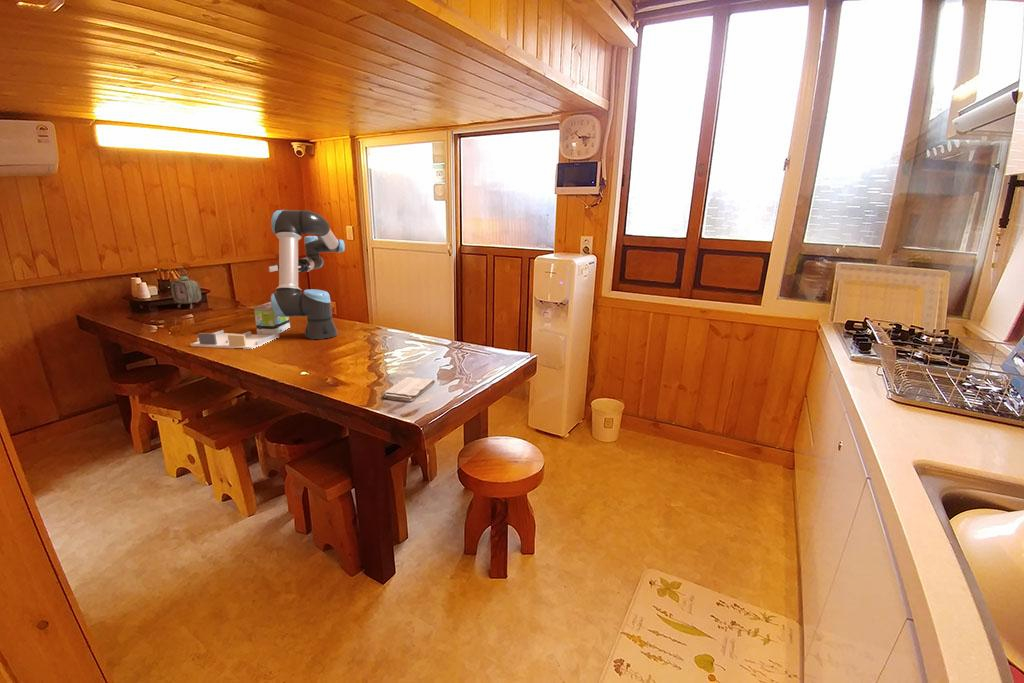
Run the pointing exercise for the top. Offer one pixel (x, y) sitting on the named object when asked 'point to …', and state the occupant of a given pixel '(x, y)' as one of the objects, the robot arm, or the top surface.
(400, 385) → the washcloth
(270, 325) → the tea box
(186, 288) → the tabletop clock
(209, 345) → the tag dock
